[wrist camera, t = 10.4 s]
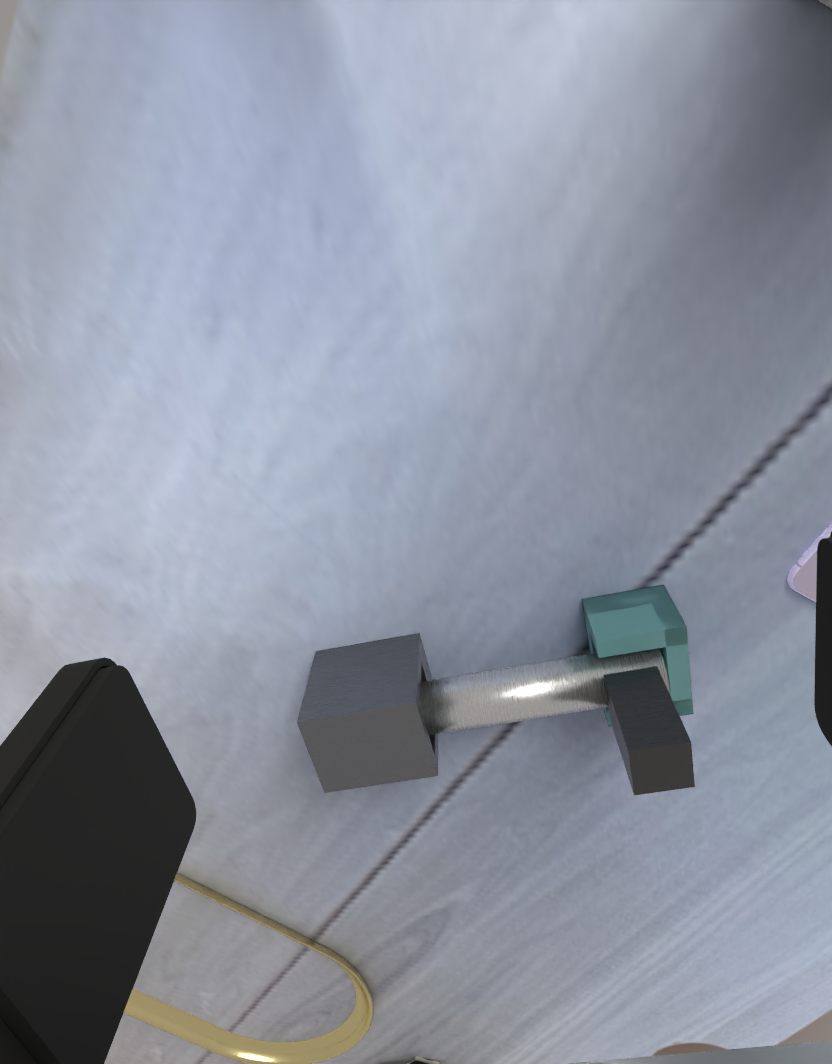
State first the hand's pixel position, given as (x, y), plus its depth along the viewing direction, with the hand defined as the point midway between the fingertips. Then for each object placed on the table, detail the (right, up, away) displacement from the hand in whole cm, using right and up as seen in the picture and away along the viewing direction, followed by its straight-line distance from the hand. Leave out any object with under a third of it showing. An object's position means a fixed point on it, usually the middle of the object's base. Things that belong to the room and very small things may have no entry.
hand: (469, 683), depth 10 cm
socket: (+13, -4, +36) cm, 38 cm away
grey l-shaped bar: (+5, -7, +34) cm, 36 cm away
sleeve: (-3, -8, +38) cm, 39 cm away
